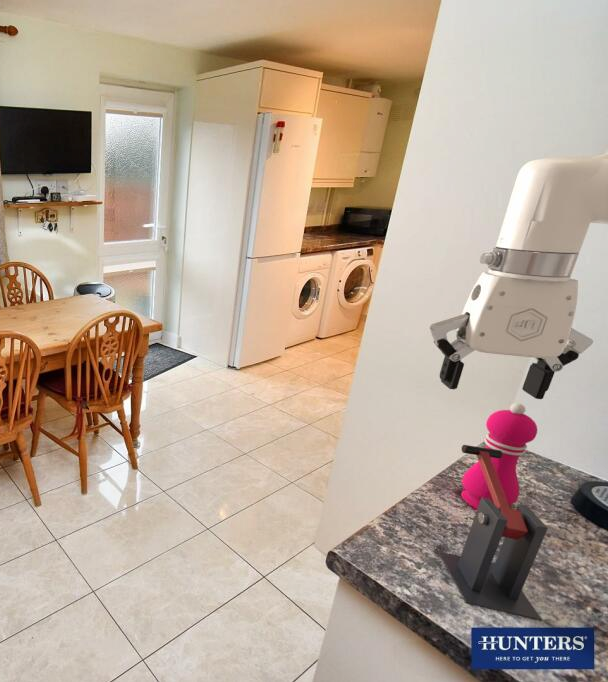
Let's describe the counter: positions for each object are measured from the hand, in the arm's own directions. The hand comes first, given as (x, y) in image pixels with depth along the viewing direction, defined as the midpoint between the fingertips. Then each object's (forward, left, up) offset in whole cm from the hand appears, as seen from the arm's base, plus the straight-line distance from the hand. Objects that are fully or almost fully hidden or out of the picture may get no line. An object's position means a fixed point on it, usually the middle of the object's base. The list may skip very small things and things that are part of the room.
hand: (489, 390), depth 61 cm
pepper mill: (-10, -12, -26) cm, 30 cm away
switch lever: (-2, +3, -14) cm, 14 cm away
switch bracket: (-2, +8, -26) cm, 27 cm away
